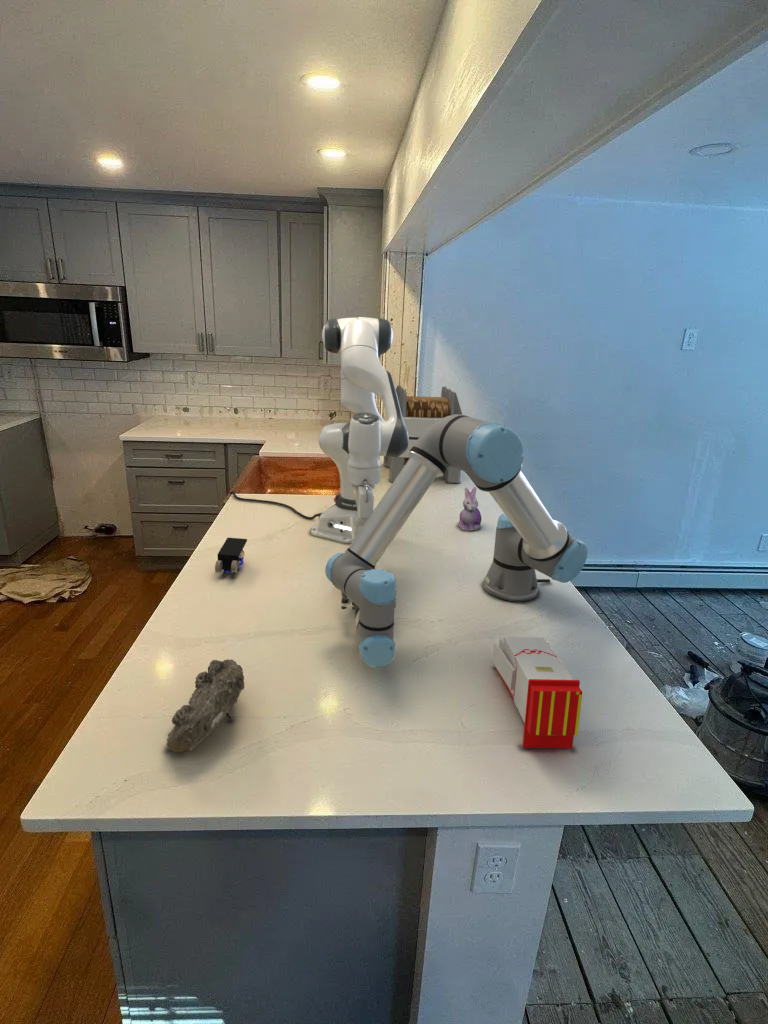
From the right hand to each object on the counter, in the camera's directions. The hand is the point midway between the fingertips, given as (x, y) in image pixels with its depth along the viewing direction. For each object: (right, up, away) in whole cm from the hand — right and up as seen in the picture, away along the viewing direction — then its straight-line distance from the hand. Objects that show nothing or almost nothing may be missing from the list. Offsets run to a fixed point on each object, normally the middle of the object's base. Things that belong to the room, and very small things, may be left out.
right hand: (363, 573), depth 154 cm
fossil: (-27, -22, -45) cm, 57 cm away
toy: (+35, -22, -37) cm, 56 cm away
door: (0, +5, +1) cm, 5 cm away
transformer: (+23, +35, +121) cm, 129 cm away
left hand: (0, +14, +3) cm, 14 cm away
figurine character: (-39, 0, +14) cm, 42 cm away
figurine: (+37, +11, +56) cm, 68 cm away
